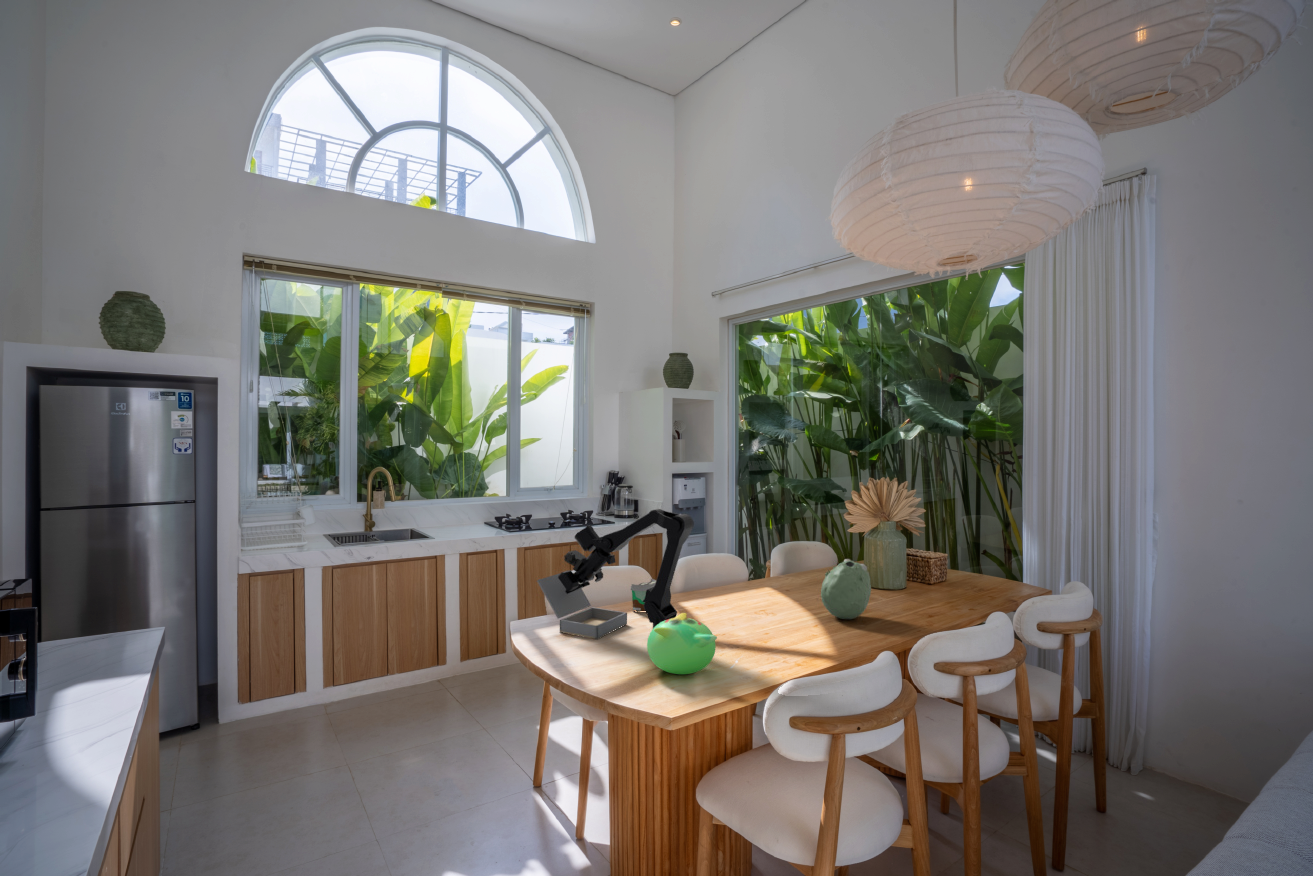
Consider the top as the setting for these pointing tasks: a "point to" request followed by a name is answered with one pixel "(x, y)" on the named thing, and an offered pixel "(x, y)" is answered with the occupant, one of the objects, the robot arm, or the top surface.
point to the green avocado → (846, 589)
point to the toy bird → (681, 645)
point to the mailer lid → (562, 596)
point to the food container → (640, 594)
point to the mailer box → (593, 622)
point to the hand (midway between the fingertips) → (566, 592)
